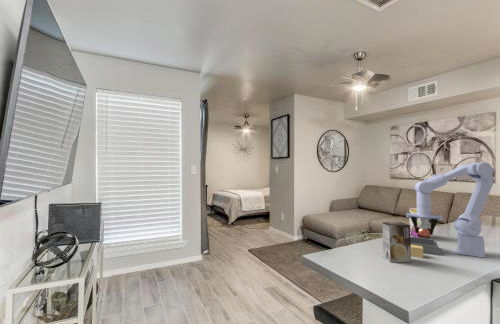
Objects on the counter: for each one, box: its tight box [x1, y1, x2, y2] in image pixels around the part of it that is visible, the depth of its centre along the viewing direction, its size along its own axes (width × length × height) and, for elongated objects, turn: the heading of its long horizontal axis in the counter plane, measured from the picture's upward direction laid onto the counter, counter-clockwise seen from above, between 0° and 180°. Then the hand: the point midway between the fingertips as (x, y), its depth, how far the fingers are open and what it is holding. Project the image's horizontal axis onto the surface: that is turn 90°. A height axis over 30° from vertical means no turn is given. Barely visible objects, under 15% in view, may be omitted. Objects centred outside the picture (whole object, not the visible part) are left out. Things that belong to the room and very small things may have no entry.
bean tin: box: [417, 226, 432, 239], centre depth 122 cm, size 5×5×5 cm
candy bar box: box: [408, 207, 430, 239], centre depth 147 cm, size 11×5×16 cm, turn 179°
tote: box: [410, 236, 440, 256], centre depth 125 cm, size 14×14×4 cm
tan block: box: [411, 245, 424, 259], centre depth 115 cm, size 5×5×4 cm
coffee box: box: [381, 221, 412, 263], centre depth 110 cm, size 9×6×16 cm
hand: (423, 233), depth 123 cm, fingers closed on bean tin, 5 cm apart
